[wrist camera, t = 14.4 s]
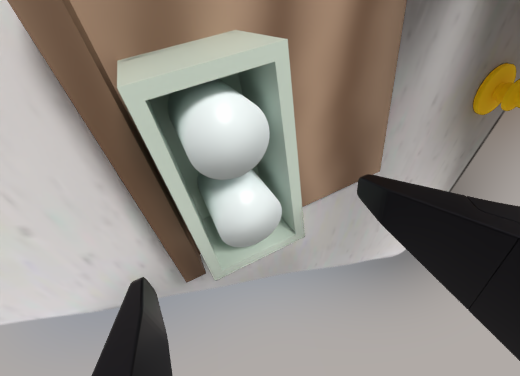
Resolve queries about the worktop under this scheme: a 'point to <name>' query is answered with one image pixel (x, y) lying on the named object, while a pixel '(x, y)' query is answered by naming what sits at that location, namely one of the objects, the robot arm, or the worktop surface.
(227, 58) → the pale green crate
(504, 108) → the candle
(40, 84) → the worktop surface
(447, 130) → the worktop surface
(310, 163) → the walnut shelf
